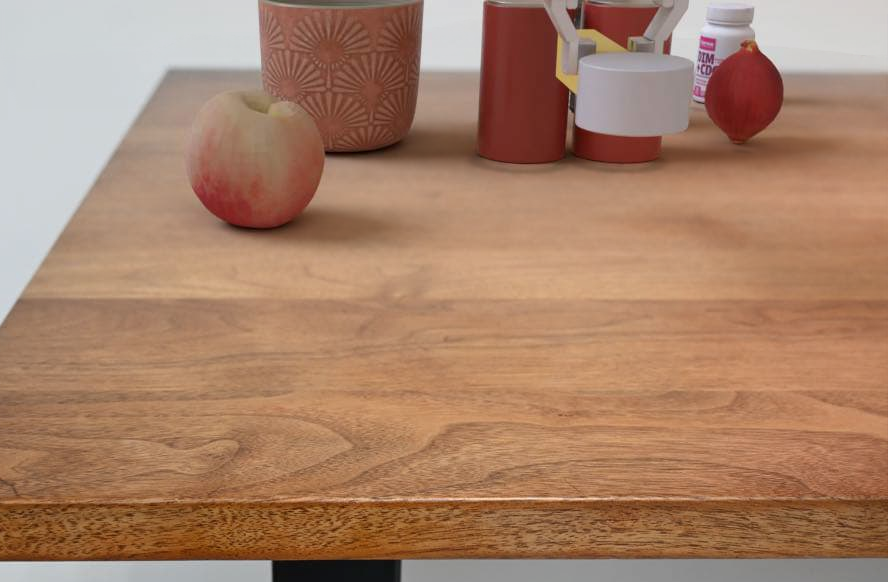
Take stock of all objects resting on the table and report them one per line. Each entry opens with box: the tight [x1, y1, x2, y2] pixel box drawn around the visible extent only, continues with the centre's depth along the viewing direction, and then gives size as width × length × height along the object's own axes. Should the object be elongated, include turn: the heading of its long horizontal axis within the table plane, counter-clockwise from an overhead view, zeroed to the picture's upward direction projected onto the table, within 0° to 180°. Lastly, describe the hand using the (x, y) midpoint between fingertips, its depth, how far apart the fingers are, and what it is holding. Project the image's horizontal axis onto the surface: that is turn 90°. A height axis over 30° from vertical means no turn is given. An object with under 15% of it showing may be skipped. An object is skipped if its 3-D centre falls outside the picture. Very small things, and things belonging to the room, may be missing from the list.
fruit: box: [184, 87, 326, 229], centre depth 75 cm, size 8×8×8 cm
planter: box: [257, 0, 425, 153], centre depth 95 cm, size 12×12×11 cm
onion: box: [704, 39, 785, 145], centre depth 96 cm, size 6×6×8 cm
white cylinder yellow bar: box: [556, 29, 695, 137], centre depth 68 cm, size 17×6×3 cm, turn 2°
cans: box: [476, 0, 674, 164], centre depth 92 cm, size 14×7×11 cm, turn 92°
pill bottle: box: [692, 2, 756, 104], centre depth 112 cm, size 5×5×8 cm
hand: (609, 73), depth 67 cm, fingers closed on white cylinder yellow bar, 2 cm apart
